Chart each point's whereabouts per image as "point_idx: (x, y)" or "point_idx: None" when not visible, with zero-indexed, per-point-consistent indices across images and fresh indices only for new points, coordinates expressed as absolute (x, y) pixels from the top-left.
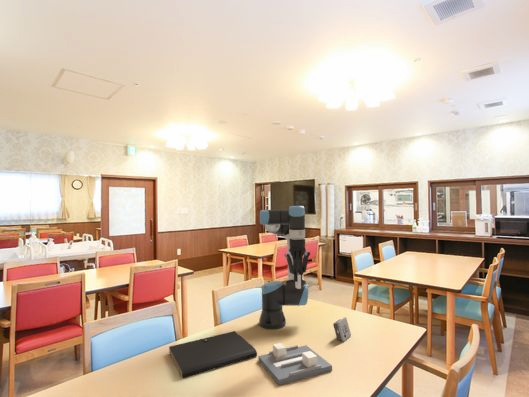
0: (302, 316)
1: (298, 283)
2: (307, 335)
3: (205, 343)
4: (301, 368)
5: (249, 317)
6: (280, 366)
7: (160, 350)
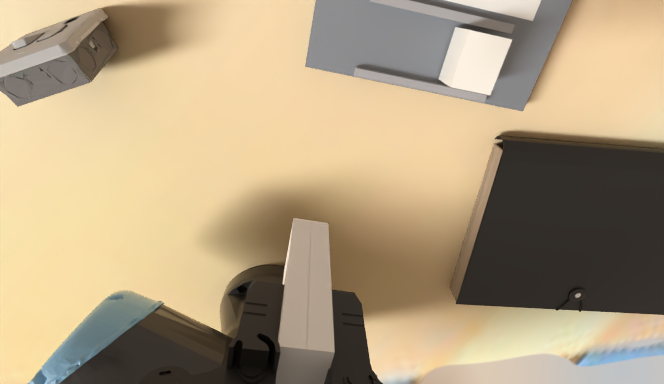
0: None
1: (324, 259)
2: (216, 160)
3: (593, 278)
4: None
5: None
6: None
7: (658, 325)
